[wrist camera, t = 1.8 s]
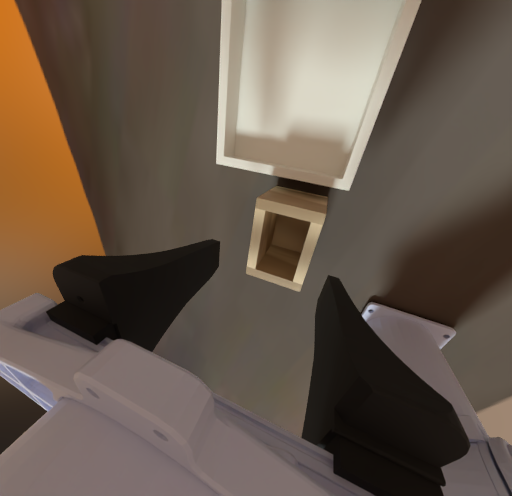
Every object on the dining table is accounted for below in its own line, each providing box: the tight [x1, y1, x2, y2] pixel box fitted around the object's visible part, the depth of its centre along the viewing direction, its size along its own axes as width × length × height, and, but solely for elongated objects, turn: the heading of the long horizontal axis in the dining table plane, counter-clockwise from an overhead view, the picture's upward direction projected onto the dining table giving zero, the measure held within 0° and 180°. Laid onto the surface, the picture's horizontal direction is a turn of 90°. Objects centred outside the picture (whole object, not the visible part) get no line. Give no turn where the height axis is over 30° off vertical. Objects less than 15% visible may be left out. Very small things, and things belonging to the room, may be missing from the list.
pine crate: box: [246, 186, 328, 292], centre depth 17 cm, size 7×5×6 cm
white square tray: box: [216, 0, 422, 191], centre depth 14 cm, size 11×11×3 cm
